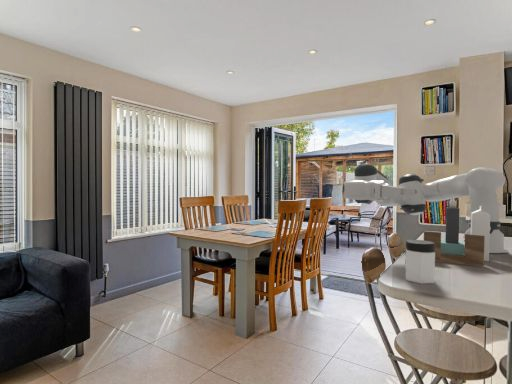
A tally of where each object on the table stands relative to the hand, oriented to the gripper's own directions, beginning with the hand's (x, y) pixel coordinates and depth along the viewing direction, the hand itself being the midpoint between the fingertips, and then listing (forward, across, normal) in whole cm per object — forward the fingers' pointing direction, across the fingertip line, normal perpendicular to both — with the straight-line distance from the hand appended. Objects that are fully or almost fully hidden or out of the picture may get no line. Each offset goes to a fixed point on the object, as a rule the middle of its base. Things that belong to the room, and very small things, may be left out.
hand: (415, 192), depth 130 cm
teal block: (+14, -7, -27) cm, 31 cm away
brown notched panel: (+14, -1, -27) cm, 30 cm away
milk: (+23, -15, -27) cm, 39 cm away
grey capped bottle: (+13, -7, -20) cm, 25 cm away
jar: (+4, +33, -27) cm, 43 cm away
